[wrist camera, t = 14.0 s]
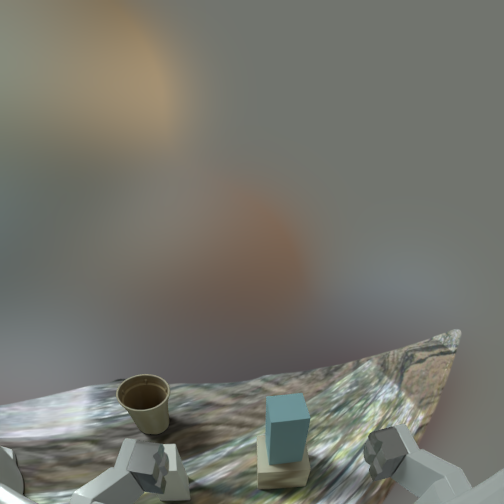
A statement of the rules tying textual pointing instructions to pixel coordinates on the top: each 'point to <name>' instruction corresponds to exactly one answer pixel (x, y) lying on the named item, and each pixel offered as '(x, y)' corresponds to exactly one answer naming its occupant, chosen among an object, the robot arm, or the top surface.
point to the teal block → (286, 428)
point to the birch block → (280, 470)
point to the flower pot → (146, 402)
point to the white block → (175, 477)
